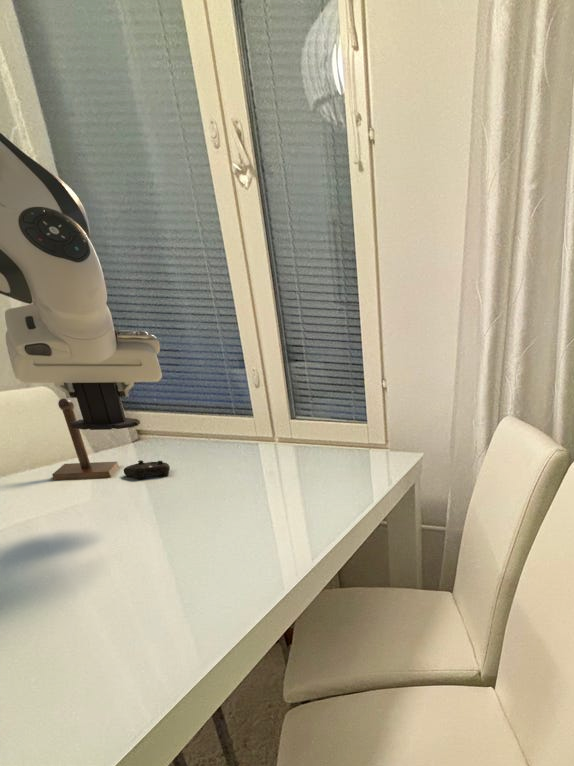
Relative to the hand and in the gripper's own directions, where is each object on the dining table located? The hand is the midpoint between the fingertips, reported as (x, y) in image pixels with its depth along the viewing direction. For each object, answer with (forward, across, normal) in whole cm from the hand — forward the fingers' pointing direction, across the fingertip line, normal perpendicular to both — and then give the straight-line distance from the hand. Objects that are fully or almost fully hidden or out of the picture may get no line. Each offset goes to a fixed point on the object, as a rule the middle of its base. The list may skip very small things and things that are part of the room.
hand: (97, 394), depth 94 cm
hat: (+3, 0, +4) cm, 5 cm away
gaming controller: (+36, -6, -6) cm, 37 cm away
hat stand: (+42, +6, -12) cm, 44 cm away
